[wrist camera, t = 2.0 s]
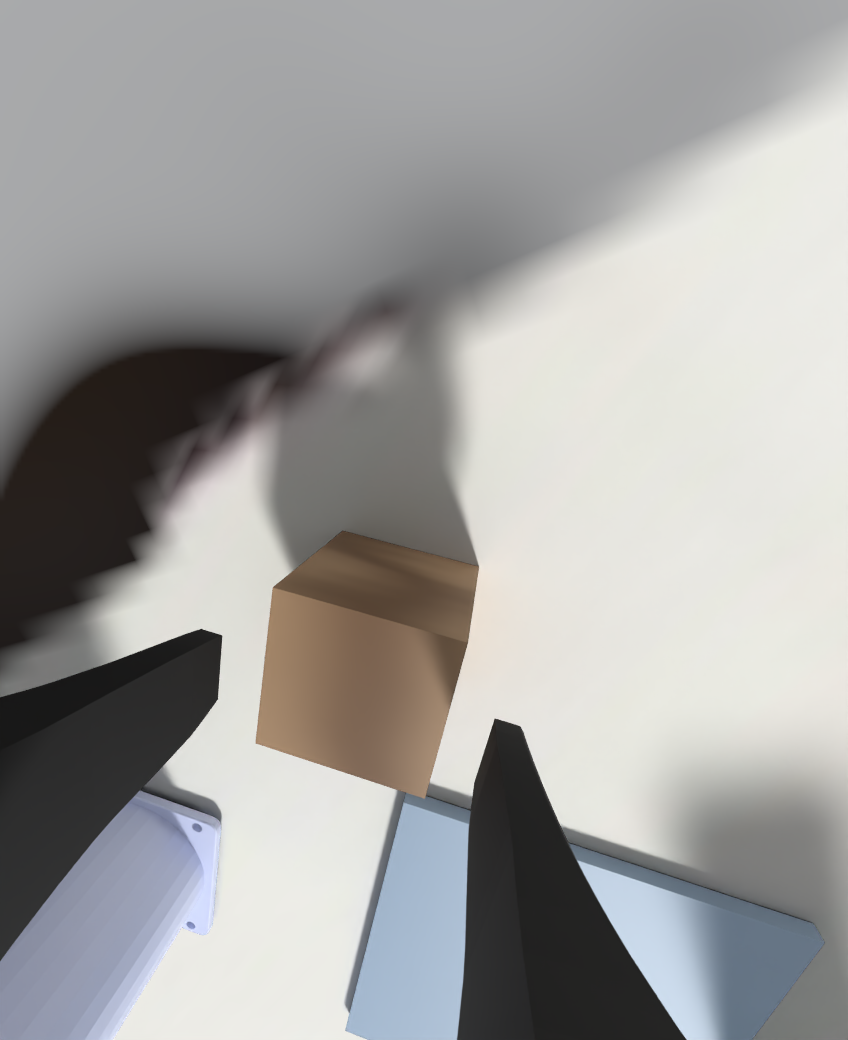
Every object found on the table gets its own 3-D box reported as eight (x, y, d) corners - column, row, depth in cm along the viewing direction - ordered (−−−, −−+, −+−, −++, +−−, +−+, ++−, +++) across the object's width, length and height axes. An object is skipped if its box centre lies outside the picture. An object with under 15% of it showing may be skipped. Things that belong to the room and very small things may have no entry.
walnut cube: (324, 647, 17) (255, 743, 12) (343, 530, 15) (273, 587, 11) (447, 683, 16) (424, 798, 12) (479, 565, 15) (467, 642, 10)
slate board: (349, 1014, 23) (345, 1030, 22) (406, 789, 18) (403, 802, 17) (658, 1137, 21) (662, 1158, 20) (813, 923, 16) (824, 942, 16)
